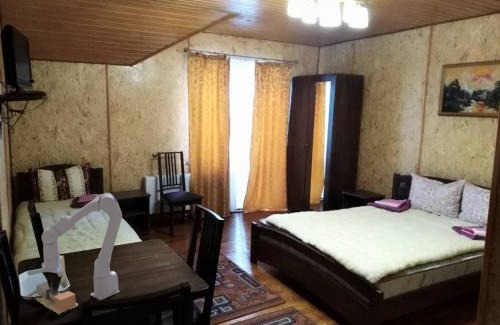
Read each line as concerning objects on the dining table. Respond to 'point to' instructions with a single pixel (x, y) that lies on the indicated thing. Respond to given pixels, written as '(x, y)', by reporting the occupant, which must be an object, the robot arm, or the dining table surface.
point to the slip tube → (52, 292)
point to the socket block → (64, 300)
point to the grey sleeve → (43, 290)
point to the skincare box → (62, 268)
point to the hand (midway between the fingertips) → (54, 288)
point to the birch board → (51, 304)
